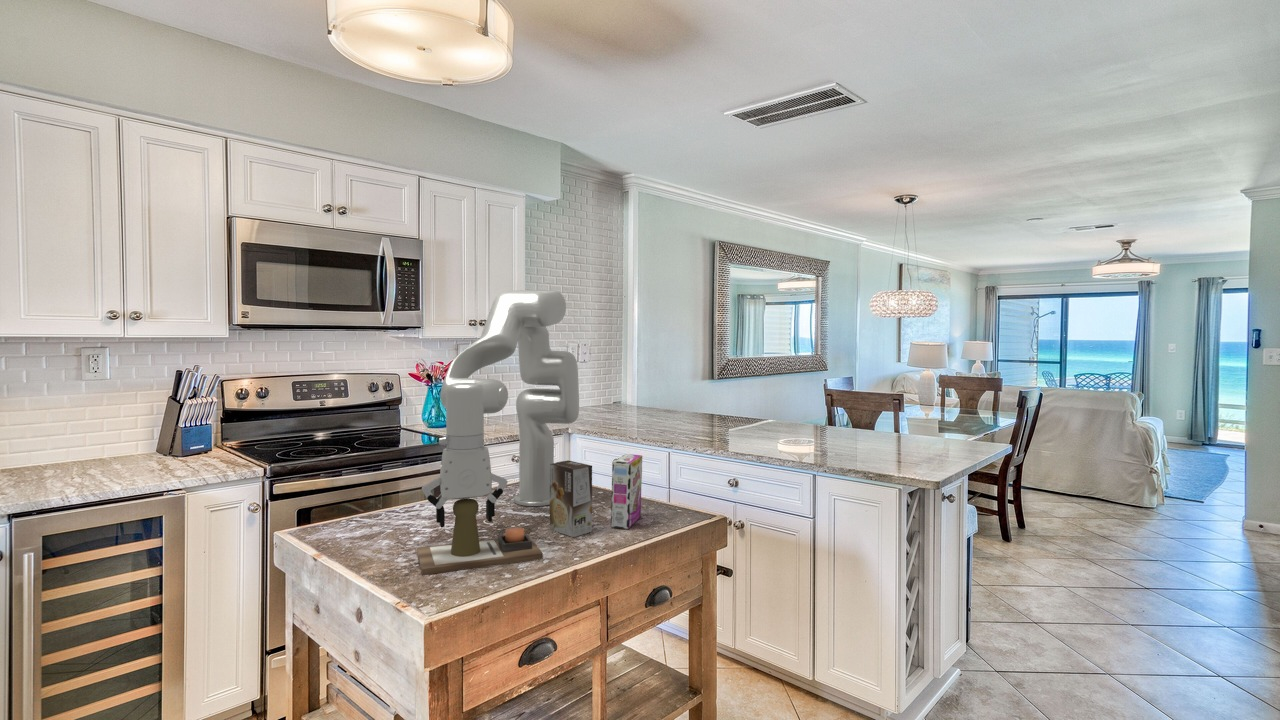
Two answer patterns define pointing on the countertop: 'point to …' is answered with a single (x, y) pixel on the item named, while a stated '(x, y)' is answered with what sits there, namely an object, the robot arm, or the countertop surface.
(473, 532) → the olive pawn
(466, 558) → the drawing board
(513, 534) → the button
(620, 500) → the candy bar box
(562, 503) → the coffee box
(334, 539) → the countertop surface
